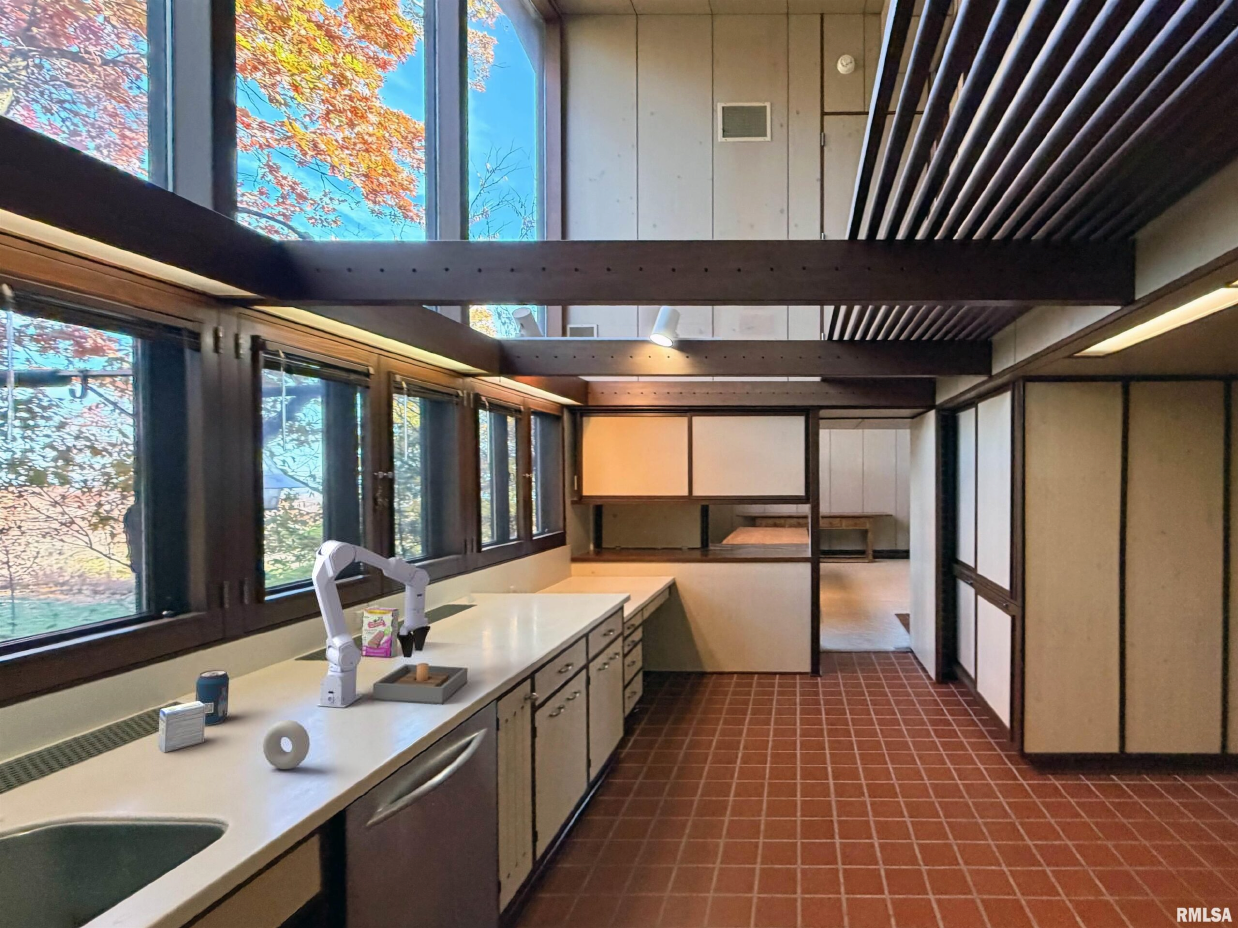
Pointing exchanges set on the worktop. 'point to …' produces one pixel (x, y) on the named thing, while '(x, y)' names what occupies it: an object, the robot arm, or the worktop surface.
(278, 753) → the donut
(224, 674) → the soda can
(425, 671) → the peg
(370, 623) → the candy bar box
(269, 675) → the worktop surface
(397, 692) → the tray
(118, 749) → the worktop surface
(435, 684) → the socket block
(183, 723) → the medicine box
